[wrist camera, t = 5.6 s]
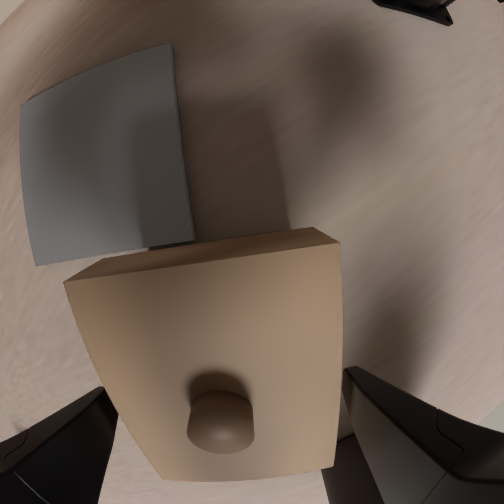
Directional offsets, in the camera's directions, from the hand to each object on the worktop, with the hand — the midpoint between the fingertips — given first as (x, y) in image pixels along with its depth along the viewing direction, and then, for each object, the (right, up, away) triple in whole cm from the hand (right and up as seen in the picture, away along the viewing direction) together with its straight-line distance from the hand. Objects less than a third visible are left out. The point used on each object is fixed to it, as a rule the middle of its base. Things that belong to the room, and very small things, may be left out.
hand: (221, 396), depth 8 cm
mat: (-7, +9, +4) cm, 13 cm away
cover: (0, 0, +2) cm, 2 cm away
